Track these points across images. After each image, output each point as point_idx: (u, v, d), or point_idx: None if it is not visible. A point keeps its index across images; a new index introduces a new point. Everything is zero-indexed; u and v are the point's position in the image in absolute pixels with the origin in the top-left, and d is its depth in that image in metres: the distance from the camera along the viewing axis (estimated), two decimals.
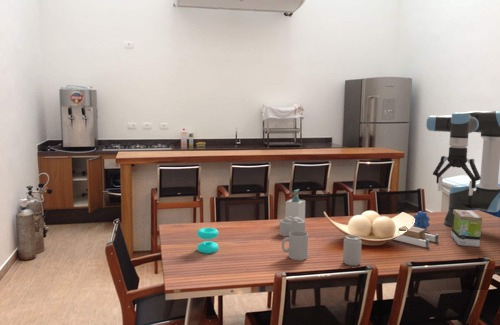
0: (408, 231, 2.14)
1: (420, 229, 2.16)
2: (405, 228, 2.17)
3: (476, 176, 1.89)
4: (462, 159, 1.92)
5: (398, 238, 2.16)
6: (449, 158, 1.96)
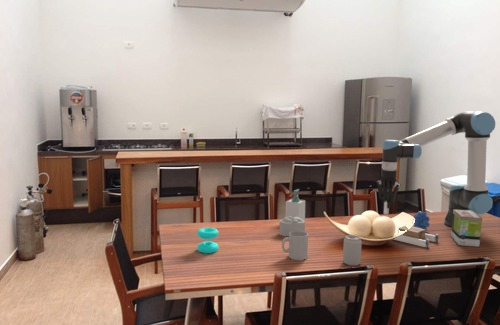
0: (407, 231, 2.14)
1: (420, 229, 2.15)
2: (405, 228, 2.17)
3: (392, 198, 2.21)
4: (392, 180, 2.20)
5: (398, 238, 2.16)
6: (381, 179, 2.25)
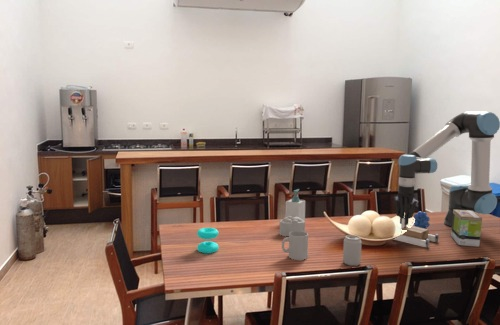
0: (411, 231, 2.13)
1: (423, 229, 2.15)
2: (408, 228, 2.16)
3: (409, 215, 2.16)
4: (410, 196, 2.15)
5: (398, 238, 2.16)
6: (398, 195, 2.19)
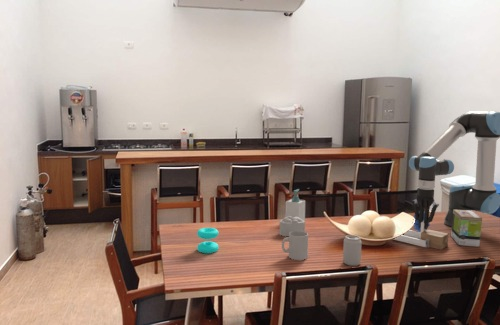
0: (431, 236, 2.06)
1: (443, 234, 2.08)
2: (427, 233, 2.09)
3: (429, 218, 2.09)
4: (430, 199, 2.08)
5: (398, 238, 2.16)
6: (417, 198, 2.12)
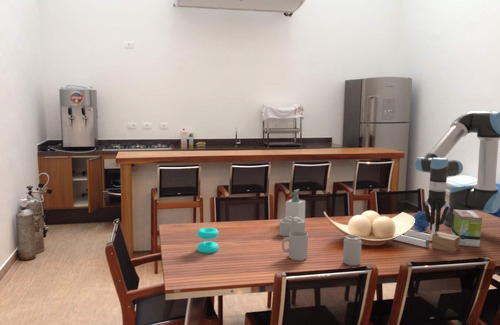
0: (442, 238, 2.02)
1: (455, 236, 2.04)
2: (439, 235, 2.05)
3: (441, 221, 2.05)
4: (441, 201, 2.04)
5: (398, 238, 2.16)
6: (428, 200, 2.08)
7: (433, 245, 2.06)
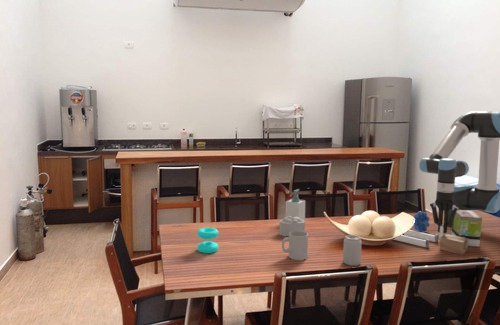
0: (451, 241, 2.00)
1: (463, 238, 2.01)
2: (447, 237, 2.03)
3: (449, 222, 2.02)
4: (450, 203, 2.01)
5: (398, 238, 2.16)
6: (436, 201, 2.06)
7: (441, 247, 2.03)
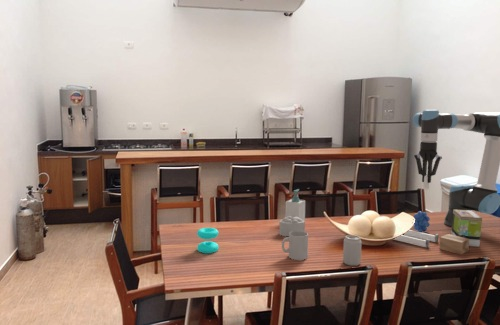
0: (450, 240, 2.00)
1: (464, 239, 2.01)
2: (447, 237, 2.03)
3: (433, 172, 2.08)
4: (433, 152, 2.07)
5: (398, 238, 2.16)
6: (420, 152, 2.11)
7: (441, 247, 2.04)
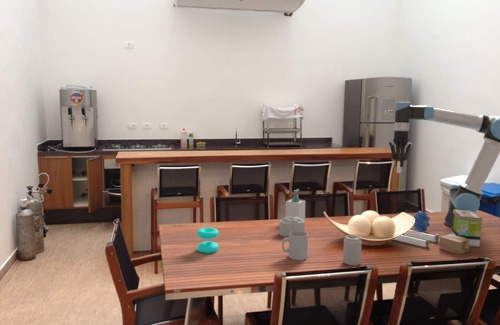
0: (449, 240, 2.00)
1: (464, 239, 2.00)
2: (447, 237, 2.03)
3: (404, 157, 2.33)
4: (405, 140, 2.32)
5: (398, 238, 2.16)
6: (394, 140, 2.37)
7: (441, 246, 2.04)
